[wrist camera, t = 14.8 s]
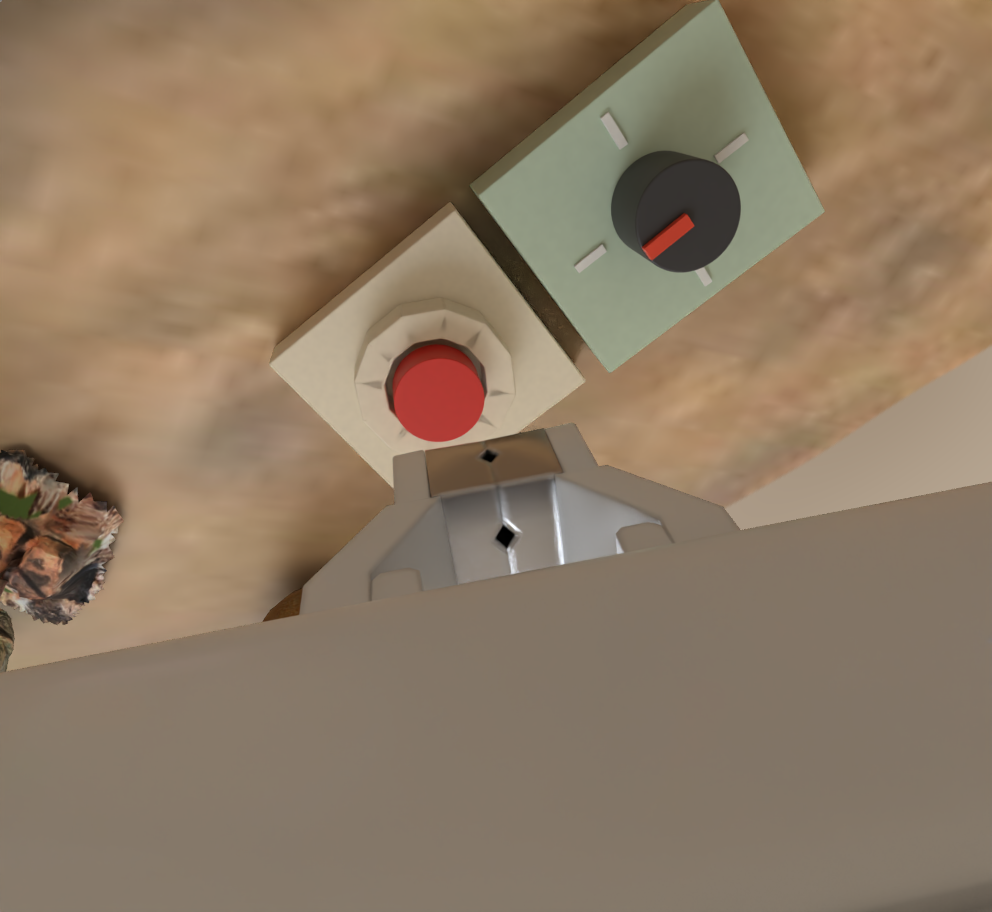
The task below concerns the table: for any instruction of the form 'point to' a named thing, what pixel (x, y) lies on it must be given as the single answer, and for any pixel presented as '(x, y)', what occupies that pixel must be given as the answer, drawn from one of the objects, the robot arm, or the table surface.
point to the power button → (437, 393)
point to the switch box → (425, 343)
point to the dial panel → (620, 142)
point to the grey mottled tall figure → (48, 545)
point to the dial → (676, 210)
